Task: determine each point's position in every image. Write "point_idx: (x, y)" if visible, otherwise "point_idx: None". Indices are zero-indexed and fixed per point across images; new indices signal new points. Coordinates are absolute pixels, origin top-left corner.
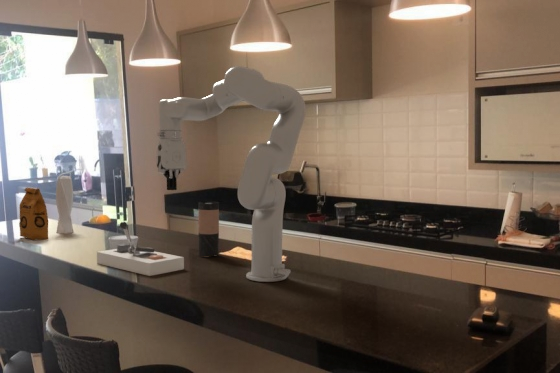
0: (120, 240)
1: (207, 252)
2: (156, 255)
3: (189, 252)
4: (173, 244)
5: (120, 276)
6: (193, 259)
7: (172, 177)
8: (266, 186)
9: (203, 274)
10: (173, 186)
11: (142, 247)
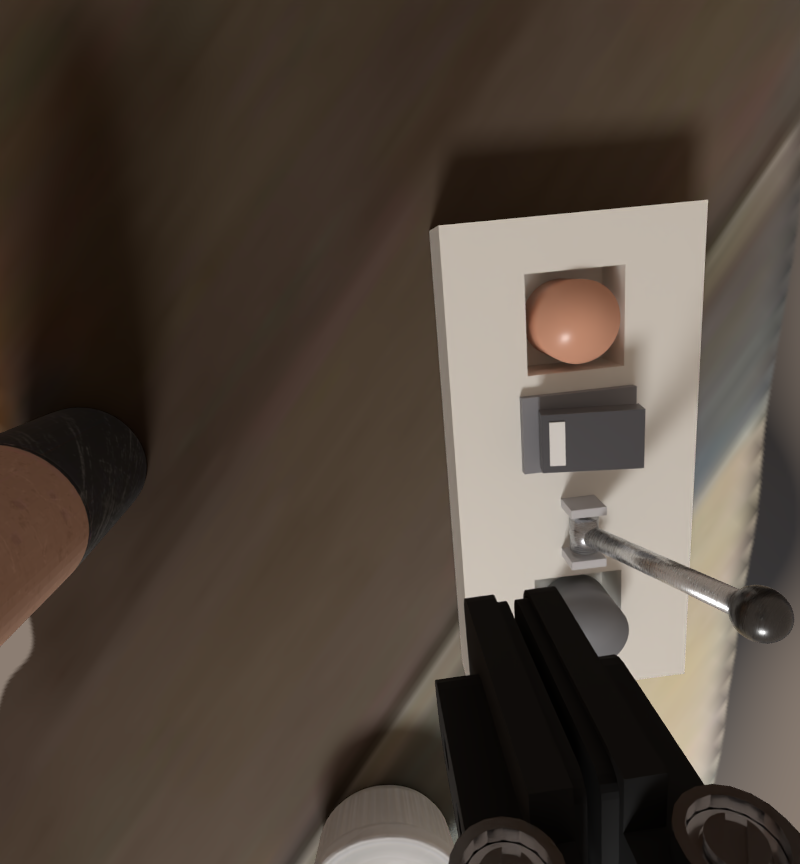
0: (440, 844)
1: (111, 429)
2: (565, 342)
3: (130, 608)
4: (81, 838)
5: (765, 304)
6: (225, 427)
7: (680, 818)
8: None
9: (431, 16)
10: (565, 622)
11: (602, 456)
